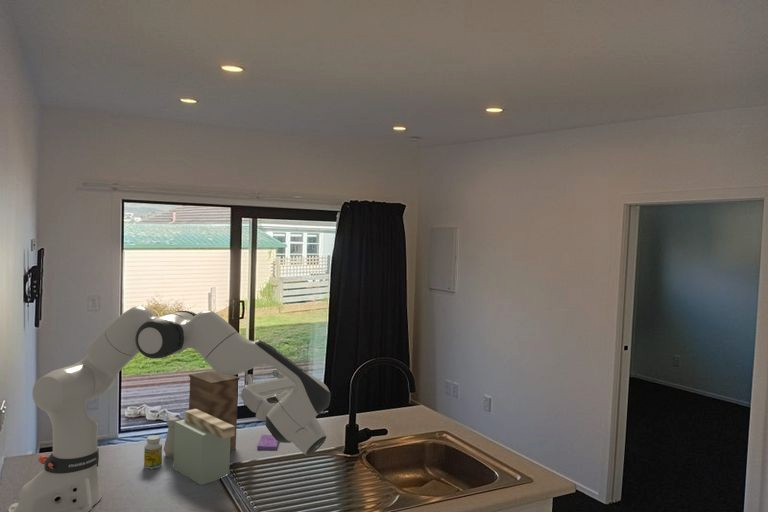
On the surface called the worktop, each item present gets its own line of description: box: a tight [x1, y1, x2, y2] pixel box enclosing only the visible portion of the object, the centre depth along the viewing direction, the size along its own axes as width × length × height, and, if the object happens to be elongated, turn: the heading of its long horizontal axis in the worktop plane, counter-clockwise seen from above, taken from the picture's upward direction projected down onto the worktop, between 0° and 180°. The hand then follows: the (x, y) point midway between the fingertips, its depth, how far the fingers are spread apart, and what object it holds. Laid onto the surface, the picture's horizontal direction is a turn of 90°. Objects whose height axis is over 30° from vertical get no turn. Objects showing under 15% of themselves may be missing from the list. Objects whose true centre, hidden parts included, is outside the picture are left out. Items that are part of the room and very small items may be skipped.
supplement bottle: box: [143, 434, 163, 469], centre depth 183 cm, size 5×5×10 cm
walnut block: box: [188, 369, 241, 451], centre depth 201 cm, size 12×15×26 cm
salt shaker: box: [163, 416, 181, 459], centre depth 192 cm, size 6×6×13 cm
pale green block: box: [172, 419, 231, 486], centre depth 180 cm, size 10×17×16 cm, turn 49°
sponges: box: [256, 434, 279, 451], centre depth 208 cm, size 7×13×2 cm, turn 5°
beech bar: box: [183, 409, 235, 439], centre depth 177 cm, size 23×4×3 cm, turn 49°
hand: (261, 373), depth 166 cm, fingers open, 8 cm apart
